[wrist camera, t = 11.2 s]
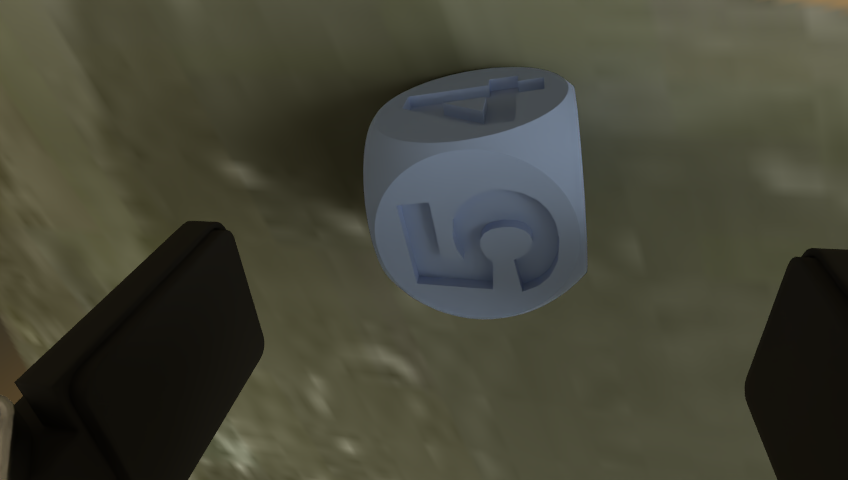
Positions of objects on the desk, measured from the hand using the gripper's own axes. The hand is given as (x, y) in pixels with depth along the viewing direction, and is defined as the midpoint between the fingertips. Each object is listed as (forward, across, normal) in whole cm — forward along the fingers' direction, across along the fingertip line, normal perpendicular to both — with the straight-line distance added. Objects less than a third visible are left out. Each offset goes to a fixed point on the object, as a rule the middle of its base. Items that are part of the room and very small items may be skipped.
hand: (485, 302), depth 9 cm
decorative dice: (+5, 0, -1) cm, 5 cm away
